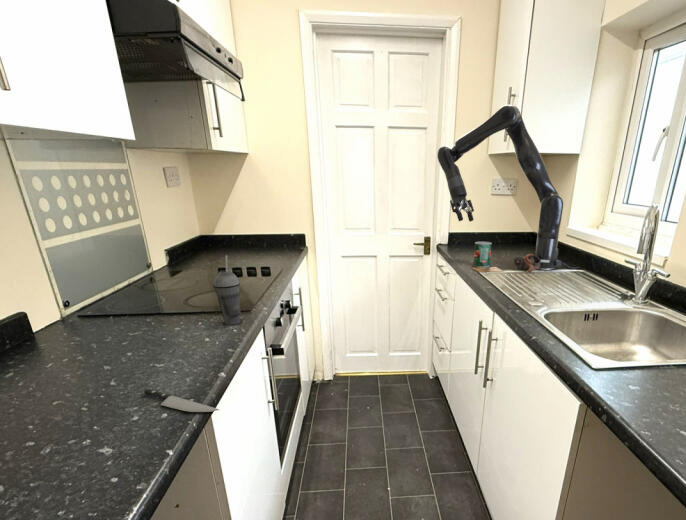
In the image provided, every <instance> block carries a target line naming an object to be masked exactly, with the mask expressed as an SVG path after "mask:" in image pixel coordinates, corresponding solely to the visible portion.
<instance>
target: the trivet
mask: <svg viewBox="0 0 686 520" xmlns="http://www.w3.org/2000/svg"><path fill="white" fill-rule="evenodd" d="M472 269H473V270H475V271H476V272H477V273H489V272H491V273H492V272H504V270H503V269H501V268H499V267H498V266H490V267H472Z"/></svg>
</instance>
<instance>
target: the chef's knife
mask: <svg viewBox="0 0 686 520" xmlns="http://www.w3.org/2000/svg"><path fill="white" fill-rule="evenodd" d="M143 392H144V394H145V395H148V396H149V395H150V396H155V397H159V398H161V399H164V400H163V401H162V402H161V404H160V406H163V407H167V408H171V409H175V410H179V411H183V412H189V413H210V412H217V411H220V409H219V408H216V407H213V406H210V405H206V404H204V403H200V402H196V401H193V400H189V399H186V398H182V397H179V396H174V395H172V394H168V393H165V392H162V391H161V392H160V391H157V390H153V389H150V388H146V389H144V391H143Z"/></svg>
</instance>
